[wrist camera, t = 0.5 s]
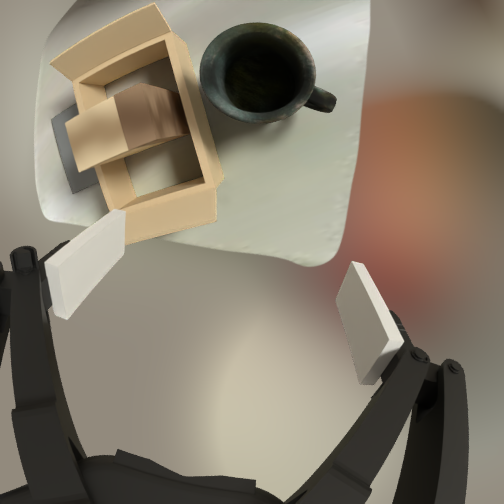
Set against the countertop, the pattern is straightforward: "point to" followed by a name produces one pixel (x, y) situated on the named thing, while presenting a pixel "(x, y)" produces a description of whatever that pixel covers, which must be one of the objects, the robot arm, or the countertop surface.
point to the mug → (261, 74)
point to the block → (126, 125)
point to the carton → (169, 44)
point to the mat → (71, 152)
